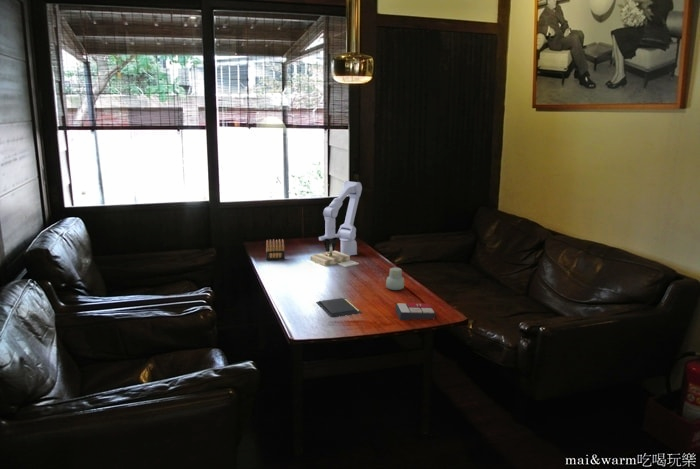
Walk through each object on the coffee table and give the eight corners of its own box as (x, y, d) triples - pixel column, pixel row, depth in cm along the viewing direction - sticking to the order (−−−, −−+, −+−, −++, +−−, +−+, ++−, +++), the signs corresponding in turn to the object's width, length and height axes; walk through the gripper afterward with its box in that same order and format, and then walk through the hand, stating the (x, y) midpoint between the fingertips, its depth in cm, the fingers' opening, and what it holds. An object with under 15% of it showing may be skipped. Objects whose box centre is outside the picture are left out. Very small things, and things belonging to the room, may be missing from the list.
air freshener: (402, 292, 257) (403, 272, 255) (385, 291, 259) (386, 271, 256) (404, 285, 268) (405, 266, 265) (388, 284, 269) (388, 265, 267)
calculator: (435, 312, 225) (400, 311, 223) (434, 321, 226) (399, 320, 224) (429, 302, 235) (396, 301, 234) (428, 311, 236) (395, 311, 235)
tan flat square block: (330, 256, 311) (330, 254, 311) (334, 257, 308) (334, 256, 308) (325, 257, 309) (325, 255, 309) (329, 258, 306) (329, 257, 306)
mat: (351, 261, 308) (351, 260, 308) (359, 264, 303) (359, 263, 303) (337, 264, 302) (337, 263, 302) (345, 267, 297) (345, 266, 297)
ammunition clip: (284, 258, 312) (284, 238, 310) (284, 259, 311) (284, 239, 308) (265, 259, 310) (265, 239, 308) (266, 260, 309) (265, 239, 306)
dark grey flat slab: (315, 299, 243) (346, 295, 249) (315, 303, 244) (346, 299, 249) (329, 315, 225) (363, 310, 230) (329, 319, 226) (363, 314, 231)
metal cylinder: (330, 254, 310) (330, 242, 309) (333, 255, 308) (333, 243, 307) (326, 255, 308) (326, 243, 307) (329, 256, 306) (329, 244, 305)
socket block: (335, 255, 320) (335, 250, 319) (349, 260, 309) (349, 255, 309) (310, 260, 309) (310, 255, 308) (324, 266, 298) (324, 260, 298)
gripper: (336, 225, 312) (336, 247, 315) (315, 228, 303) (315, 251, 306) (343, 227, 307) (343, 250, 310) (323, 230, 298) (323, 254, 301)
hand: (330, 251), depth 308 cm, fingers closed on metal cylinder, 3 cm apart
